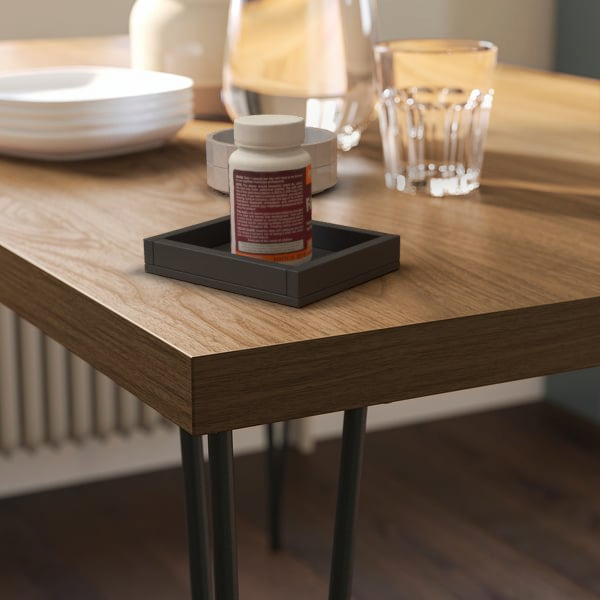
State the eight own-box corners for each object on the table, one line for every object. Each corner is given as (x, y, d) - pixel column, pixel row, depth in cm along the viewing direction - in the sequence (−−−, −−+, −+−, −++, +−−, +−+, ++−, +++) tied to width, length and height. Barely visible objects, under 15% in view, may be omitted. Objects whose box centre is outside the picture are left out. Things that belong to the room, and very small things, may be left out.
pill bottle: (325, 266, 68) (325, 121, 65) (249, 276, 66) (245, 127, 64) (292, 247, 72) (291, 110, 70) (219, 256, 70) (215, 116, 68)
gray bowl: (362, 183, 92) (362, 132, 91) (280, 207, 85) (280, 152, 84) (265, 168, 98) (264, 121, 97) (180, 189, 91) (178, 138, 90)
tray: (400, 268, 69) (400, 235, 69) (298, 308, 62) (298, 271, 62) (251, 238, 76) (250, 208, 76) (144, 271, 69) (142, 238, 69)
